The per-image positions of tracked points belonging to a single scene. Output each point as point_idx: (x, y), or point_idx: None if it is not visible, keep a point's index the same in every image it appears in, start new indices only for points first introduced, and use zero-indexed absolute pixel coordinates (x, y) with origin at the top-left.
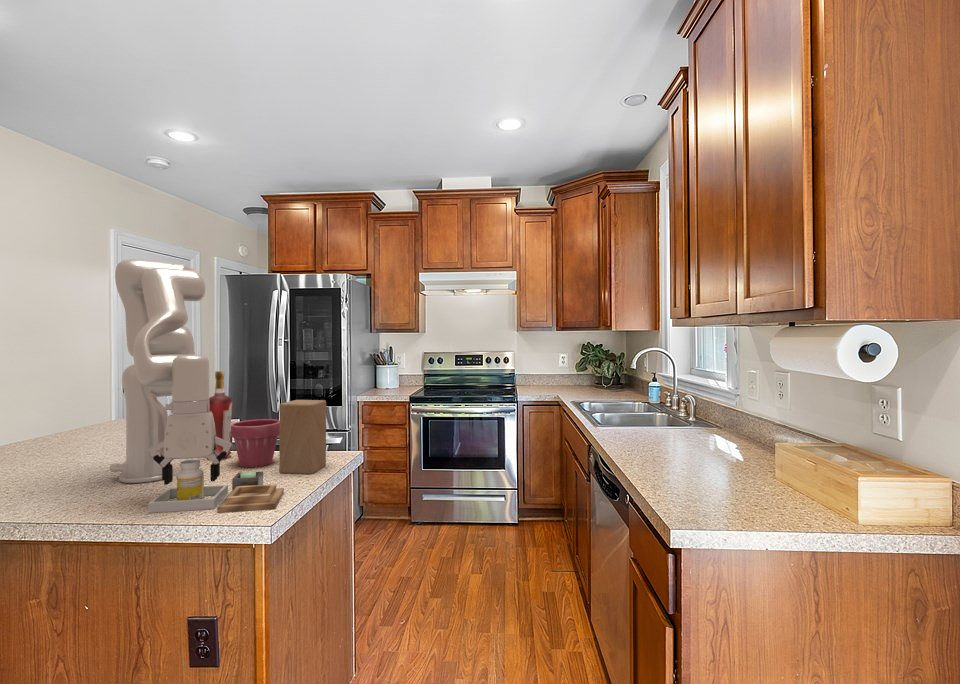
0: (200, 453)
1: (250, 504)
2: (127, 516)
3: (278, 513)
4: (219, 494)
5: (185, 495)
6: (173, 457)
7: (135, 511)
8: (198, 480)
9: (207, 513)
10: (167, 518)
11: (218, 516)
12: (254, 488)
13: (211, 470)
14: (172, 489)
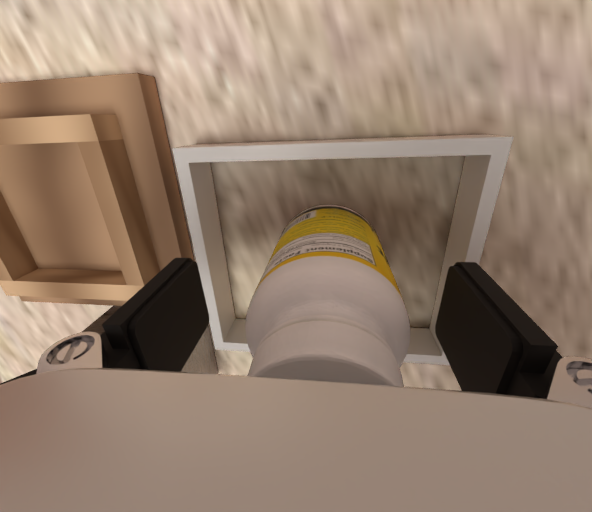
0: (67, 414)
1: (5, 94)
2: (589, 97)
3: None
4: (194, 237)
5: (333, 218)
6: (521, 410)
7: (553, 177)
8: (265, 273)
9: (196, 76)
10: (366, 18)
11: (120, 11)
12: (80, 278)
13: (150, 295)
14: (430, 353)
